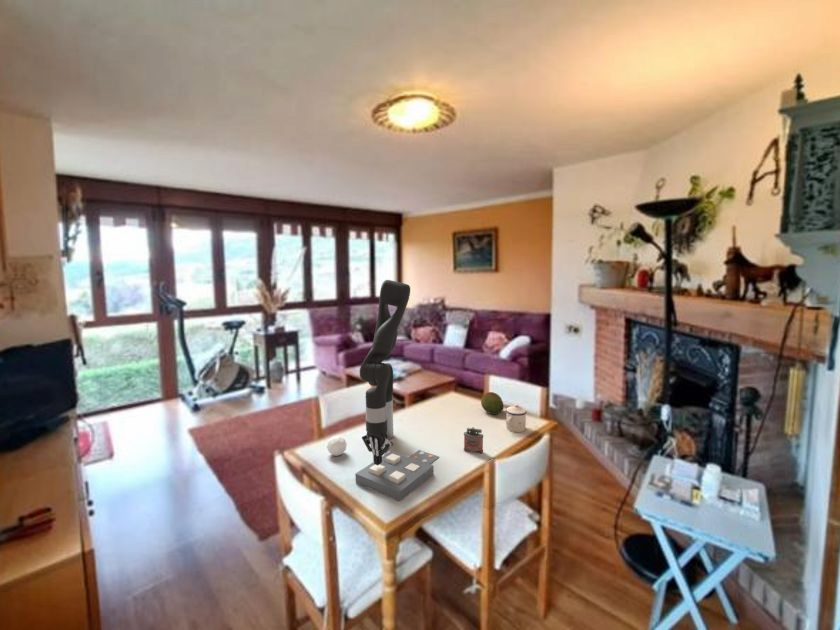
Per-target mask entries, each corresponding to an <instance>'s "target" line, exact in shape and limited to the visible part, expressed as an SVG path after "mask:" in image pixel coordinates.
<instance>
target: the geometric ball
mask: <svg viewBox="0 0 840 630" xmlns="http://www.w3.org/2000/svg"><path fill="white" fill-rule="evenodd" d="M326 446H327V447H326V449H327V451H328V453H329V454H331V456H336V457H338V456H340V455H342V454H344V453H345V451H346V450H347V446H348V444H347V441H346V439H345V438H344V437H343V436H341V435H334V436H332V437H330V439H329V440H328V441H327V445H326Z"/></svg>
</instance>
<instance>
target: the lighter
mask: <svg viewBox="0 0 840 630" xmlns="http://www.w3.org/2000/svg"><path fill="white" fill-rule="evenodd" d="M482 432H483V430H482V429H481V428H475V427H474V426H473V427H467V428H466V431H464V432H463V438H464V440H463V452H466V453H469V454H477V455H482V454H484V434H483V433H482Z"/></svg>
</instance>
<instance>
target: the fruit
mask: <svg viewBox="0 0 840 630" xmlns="http://www.w3.org/2000/svg"><path fill="white" fill-rule="evenodd" d="M480 404H481V408H482V409H483V410H484V411H486V412H487V413H489V414H492V415H493V414H494V415H497V414H500V413H502V412H503V411H504V402H503V400H502V397H501V396H500V395H499V394H498V393H495V392H493V391H489V392H486V393H484V395H482V397H481V399H480Z"/></svg>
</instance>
